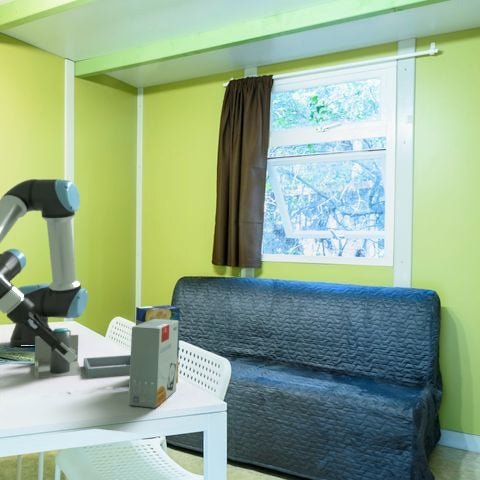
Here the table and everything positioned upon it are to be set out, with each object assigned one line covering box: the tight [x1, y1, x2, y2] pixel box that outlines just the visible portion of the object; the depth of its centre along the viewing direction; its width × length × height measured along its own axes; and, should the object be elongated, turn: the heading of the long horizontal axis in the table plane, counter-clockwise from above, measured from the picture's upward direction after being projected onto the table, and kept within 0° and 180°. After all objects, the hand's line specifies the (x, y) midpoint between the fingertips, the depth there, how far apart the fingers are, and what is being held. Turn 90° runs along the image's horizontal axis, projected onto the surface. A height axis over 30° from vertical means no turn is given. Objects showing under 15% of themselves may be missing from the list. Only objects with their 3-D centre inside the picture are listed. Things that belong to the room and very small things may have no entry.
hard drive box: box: [127, 319, 178, 409], centre depth 127 cm, size 16×8×20 cm, turn 168°
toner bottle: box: [50, 327, 72, 374], centre depth 145 cm, size 6×6×13 cm
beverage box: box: [135, 304, 181, 383], centre depth 142 cm, size 7×11×22 cm, turn 127°
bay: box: [34, 334, 83, 380], centre depth 148 cm, size 18×13×10 cm
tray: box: [83, 354, 131, 379], centre depth 148 cm, size 14×16×4 cm
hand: (72, 357), depth 147 cm, fingers closed on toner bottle, 6 cm apart
